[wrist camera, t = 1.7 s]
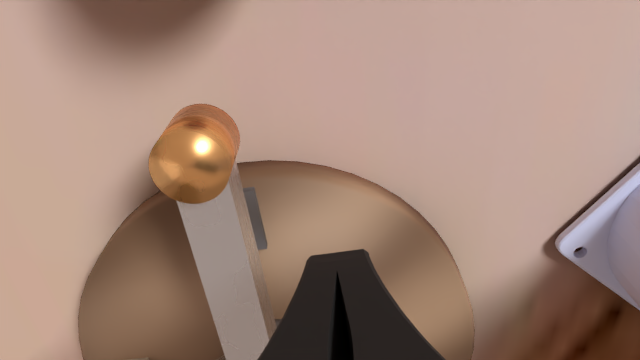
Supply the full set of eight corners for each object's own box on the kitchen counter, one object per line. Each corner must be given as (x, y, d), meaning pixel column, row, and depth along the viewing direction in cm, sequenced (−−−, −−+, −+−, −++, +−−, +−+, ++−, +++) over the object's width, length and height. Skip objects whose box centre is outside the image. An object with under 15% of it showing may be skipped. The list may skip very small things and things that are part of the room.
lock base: (544, 295, 23) (580, 357, 19) (318, 488, 28) (319, 560, 25) (219, 75, 18) (200, 110, 15) (31, 357, 24) (-12, 424, 21)
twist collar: (357, 440, 21) (361, 490, 19) (218, 455, 21) (209, 505, 19) (296, 89, 14) (293, 115, 13) (96, 118, 15) (66, 147, 13)
